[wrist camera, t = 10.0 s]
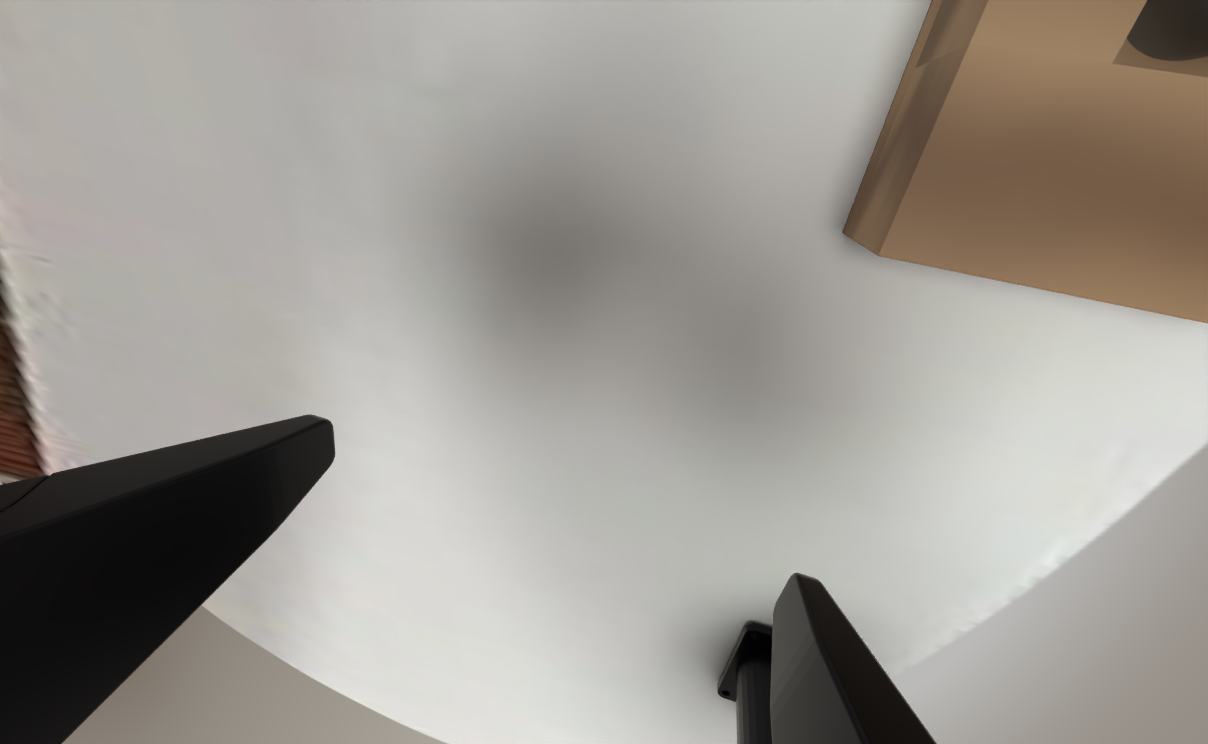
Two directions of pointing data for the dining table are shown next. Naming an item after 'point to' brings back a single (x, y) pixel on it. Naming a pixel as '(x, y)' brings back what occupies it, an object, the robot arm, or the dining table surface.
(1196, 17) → the pin
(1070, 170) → the socket block
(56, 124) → the dining table surface
